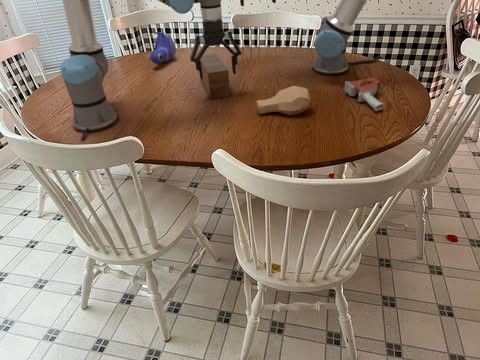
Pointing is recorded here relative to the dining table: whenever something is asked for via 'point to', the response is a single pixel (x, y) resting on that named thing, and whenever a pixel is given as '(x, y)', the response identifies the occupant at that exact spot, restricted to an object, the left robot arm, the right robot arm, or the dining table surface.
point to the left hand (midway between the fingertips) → (217, 75)
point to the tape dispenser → (365, 91)
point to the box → (215, 76)
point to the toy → (162, 49)
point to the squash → (286, 101)
